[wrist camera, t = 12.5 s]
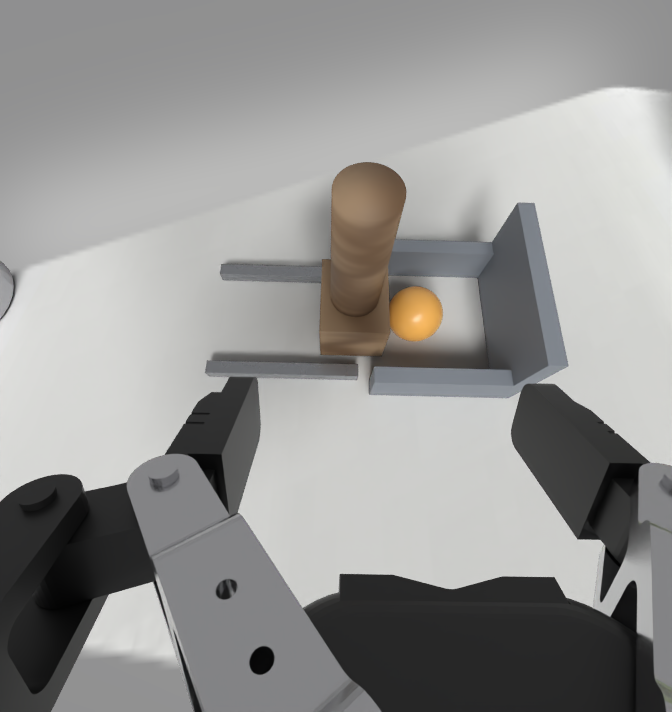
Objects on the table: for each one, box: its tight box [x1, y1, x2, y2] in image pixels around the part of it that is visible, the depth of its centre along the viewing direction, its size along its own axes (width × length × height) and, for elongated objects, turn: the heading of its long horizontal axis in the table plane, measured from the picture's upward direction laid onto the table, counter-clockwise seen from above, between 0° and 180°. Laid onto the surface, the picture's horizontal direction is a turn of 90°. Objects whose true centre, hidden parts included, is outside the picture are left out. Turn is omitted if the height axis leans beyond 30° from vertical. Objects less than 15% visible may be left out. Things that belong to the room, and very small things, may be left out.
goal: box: [369, 203, 568, 398], centre depth 28 cm, size 11×12×8 cm
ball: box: [389, 286, 443, 341], centre depth 30 cm, size 4×4×4 cm
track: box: [205, 264, 358, 380], centre depth 31 cm, size 12×10×1 cm
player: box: [319, 162, 406, 356], centre depth 25 cm, size 5×6×15 cm
